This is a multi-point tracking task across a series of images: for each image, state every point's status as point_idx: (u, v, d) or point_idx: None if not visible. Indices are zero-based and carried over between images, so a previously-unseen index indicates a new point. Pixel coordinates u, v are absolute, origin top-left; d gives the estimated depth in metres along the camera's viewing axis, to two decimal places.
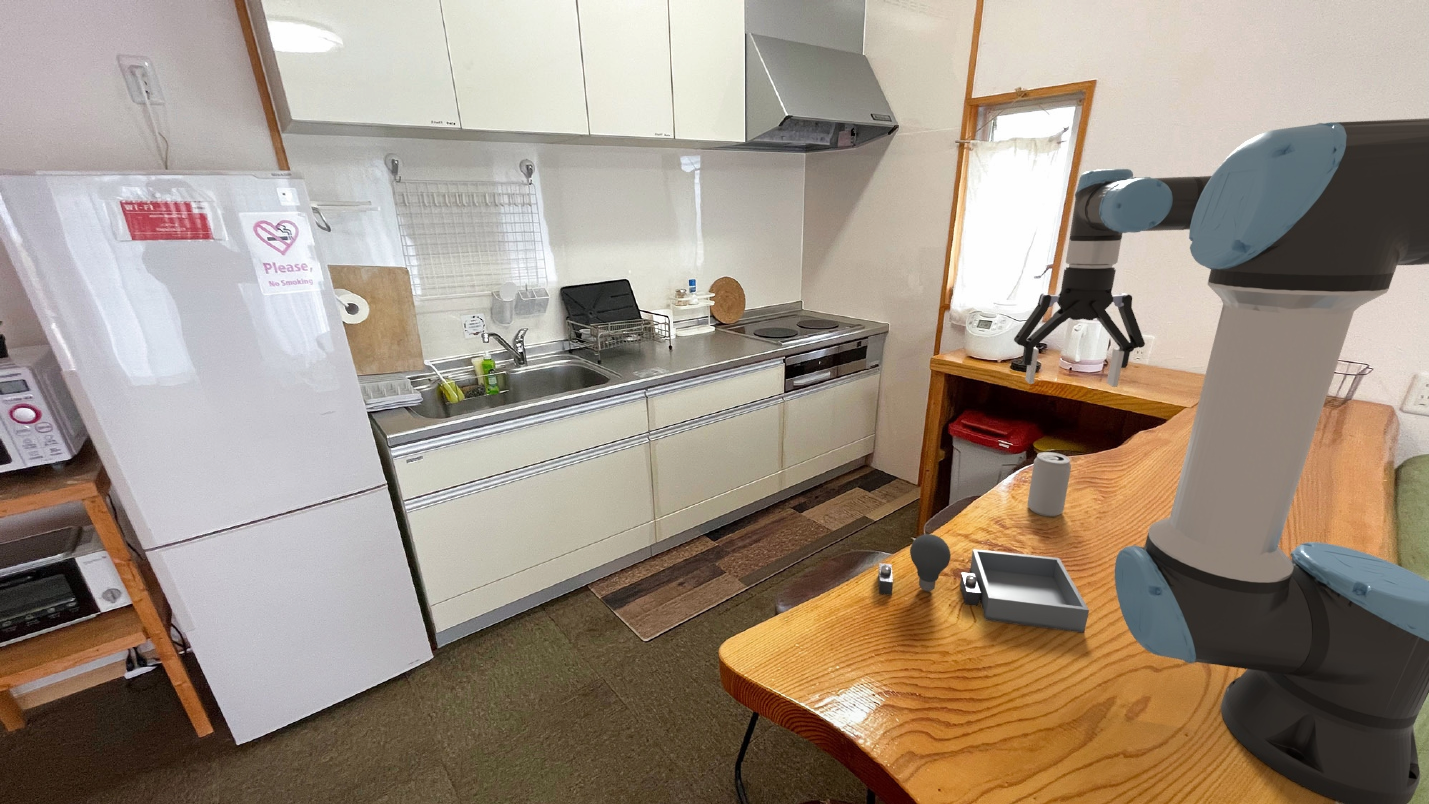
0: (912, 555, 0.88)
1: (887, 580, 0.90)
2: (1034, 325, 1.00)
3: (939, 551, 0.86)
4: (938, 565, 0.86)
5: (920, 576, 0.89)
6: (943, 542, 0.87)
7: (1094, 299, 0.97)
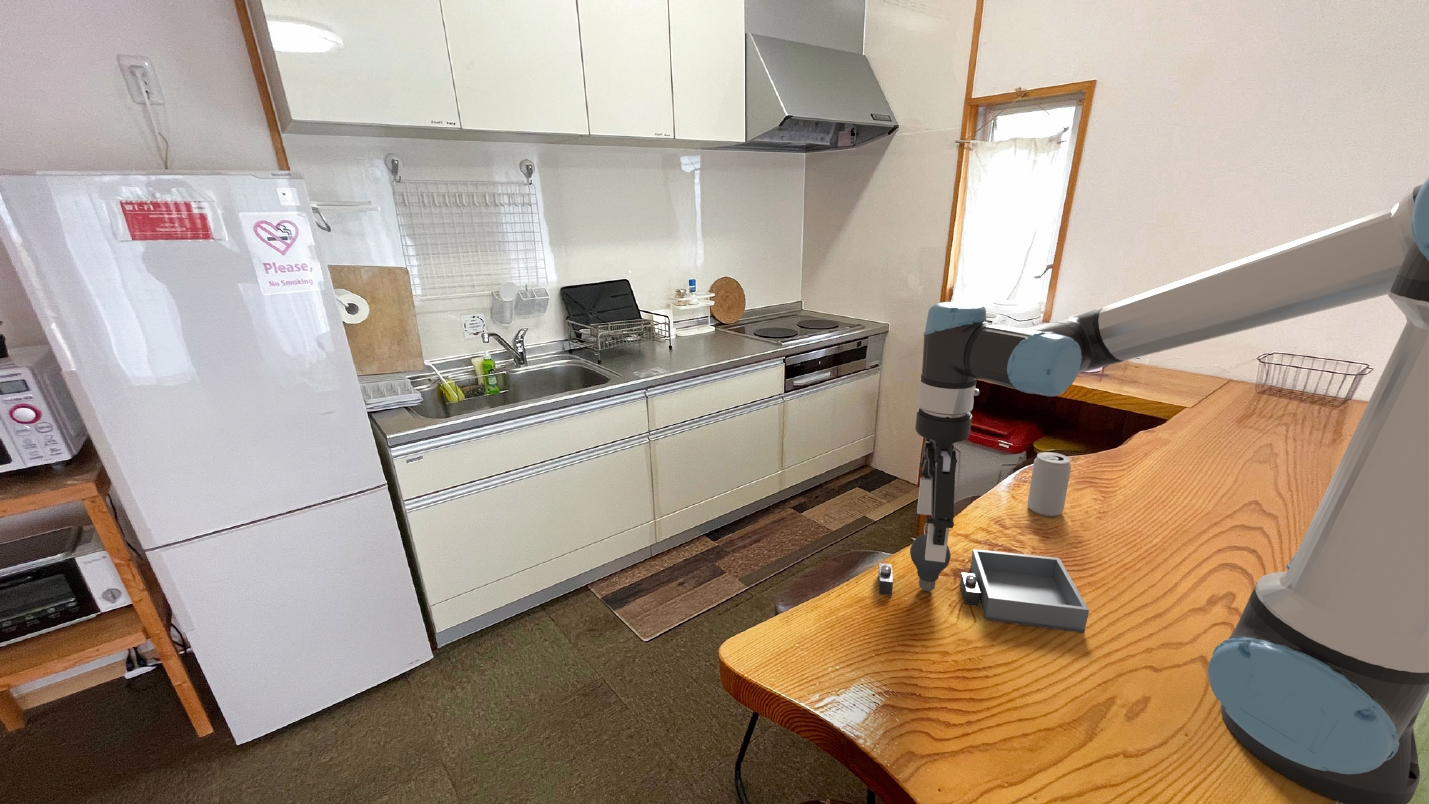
0: (912, 555, 0.88)
1: (887, 580, 0.90)
2: (923, 452, 0.92)
3: None
4: (938, 565, 0.86)
5: (920, 576, 0.89)
6: None
7: (933, 447, 0.82)
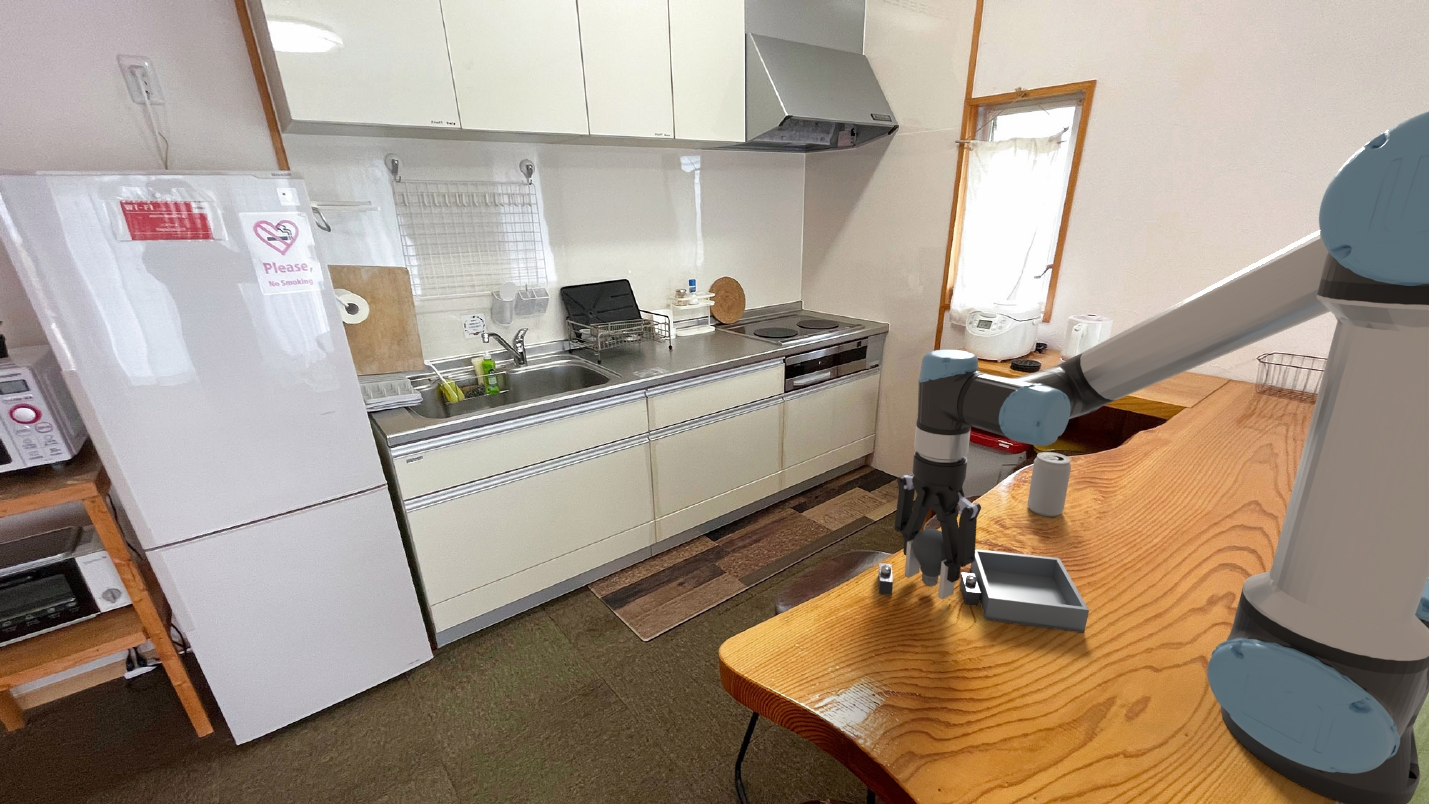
0: (925, 556, 0.86)
1: (887, 580, 0.90)
2: (900, 510, 0.91)
3: None
4: None
5: (930, 574, 0.88)
6: None
7: (940, 492, 0.83)
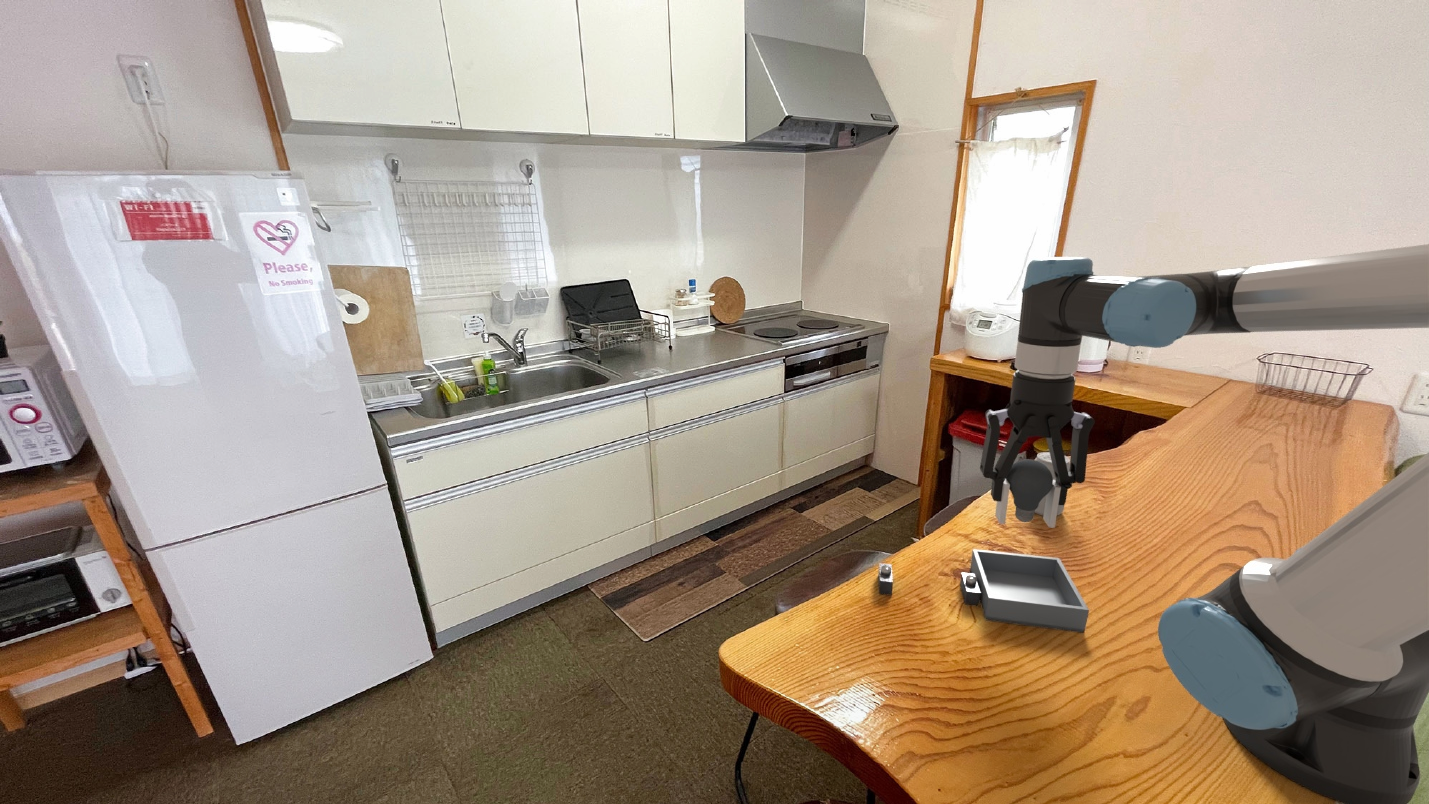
0: (1042, 488, 0.79)
1: (887, 580, 0.90)
2: (994, 452, 0.81)
3: None
4: None
5: (1035, 507, 0.82)
6: None
7: (1053, 413, 0.77)
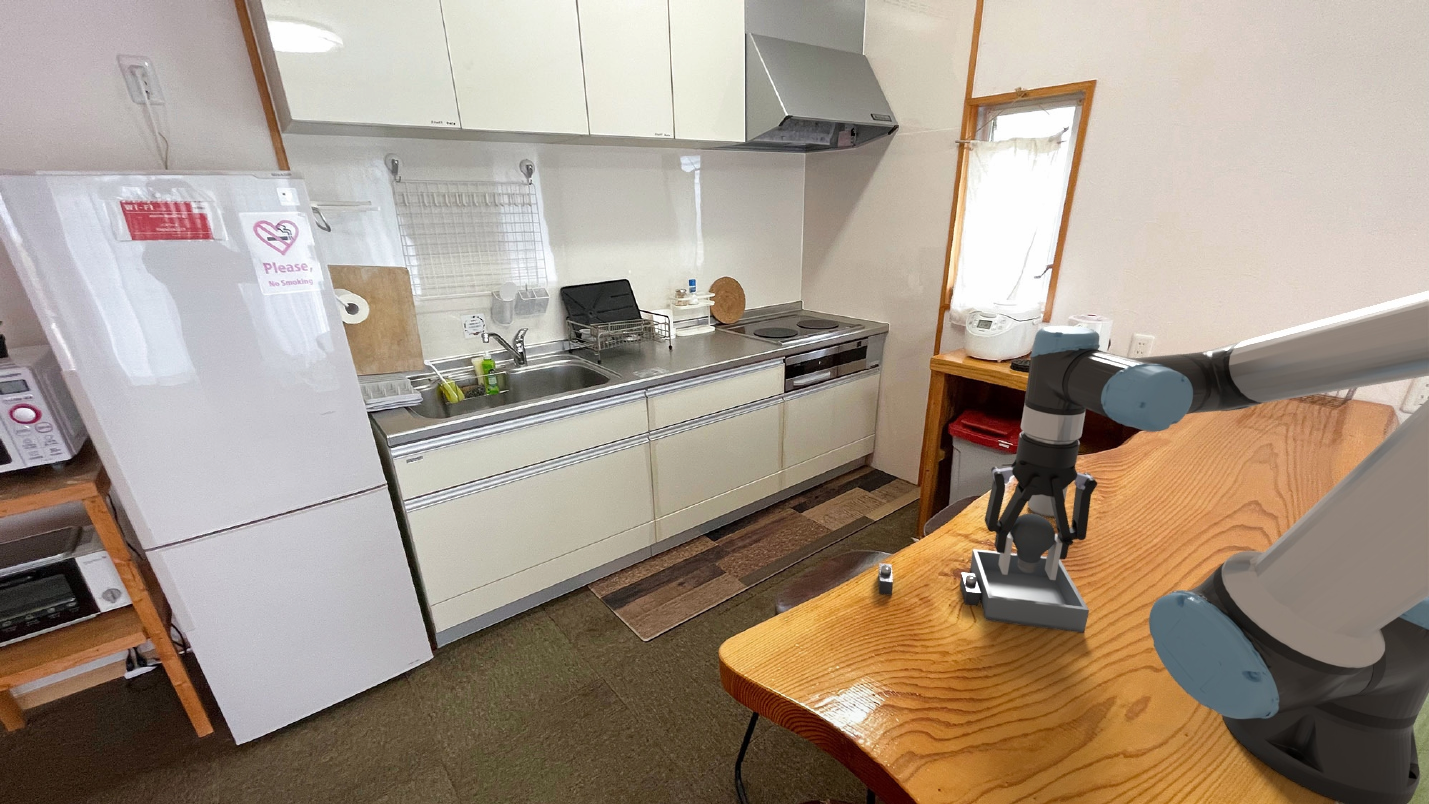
0: (1045, 544, 0.82)
1: (887, 580, 0.90)
2: (998, 507, 0.84)
3: None
4: None
5: (1037, 560, 0.85)
6: None
7: (1057, 474, 0.80)
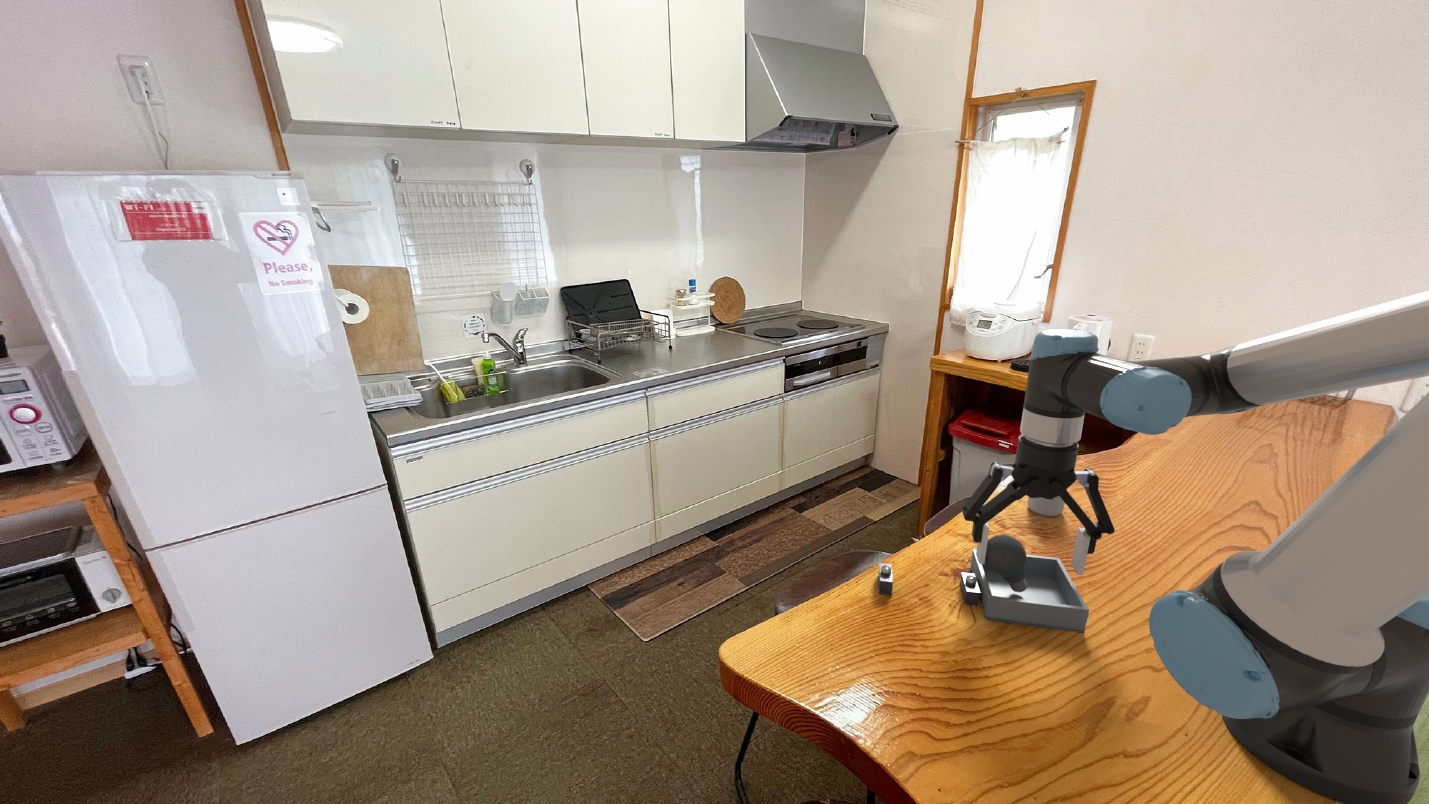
0: (1015, 562, 0.84)
1: (887, 580, 0.90)
2: (983, 500, 0.84)
3: (1012, 537, 0.87)
4: None
5: (1022, 577, 0.86)
6: None
7: (1054, 477, 0.80)
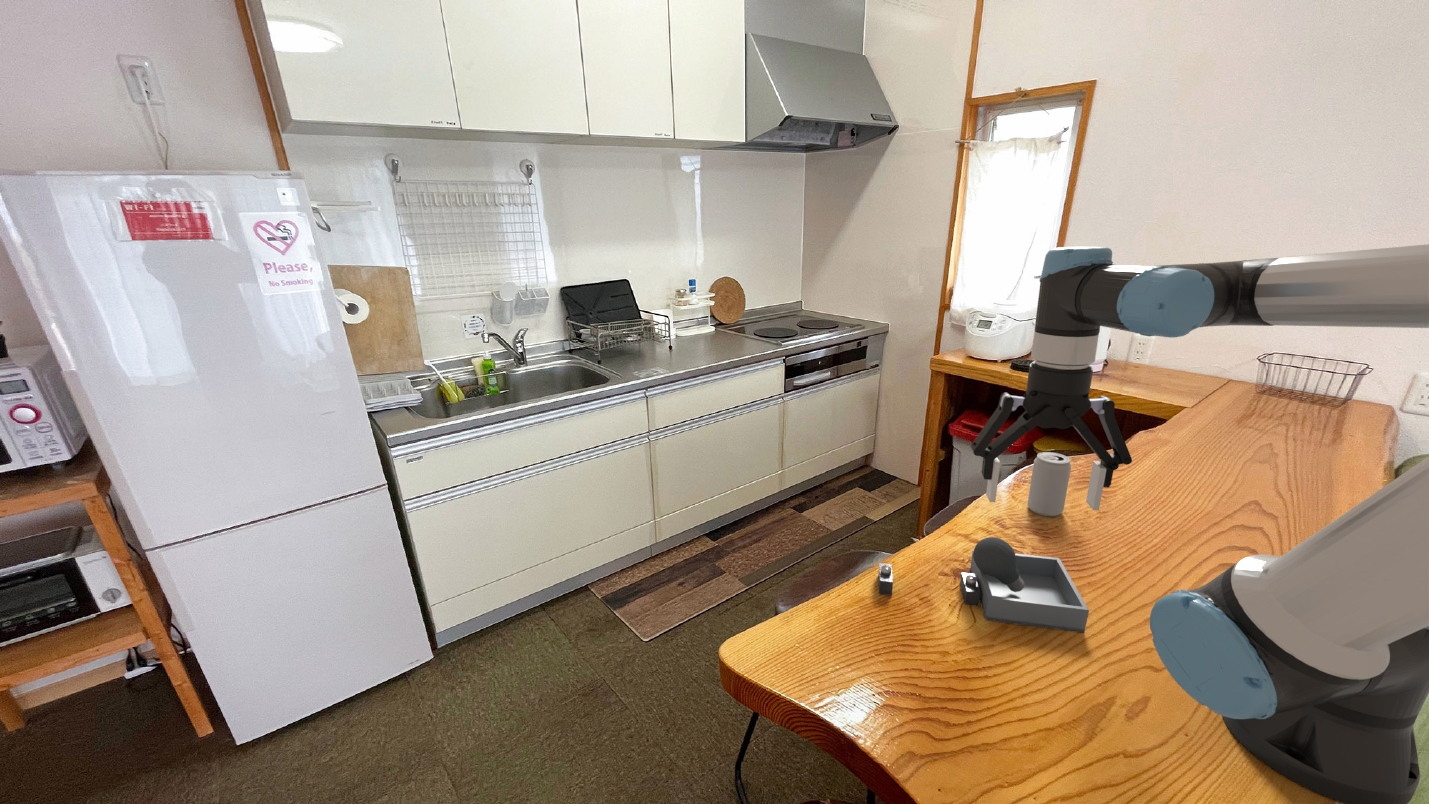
0: (1004, 563, 0.85)
1: (887, 580, 0.90)
2: (994, 433, 0.80)
3: (998, 538, 0.88)
4: None
5: (1016, 576, 0.86)
6: None
7: (1067, 404, 0.77)
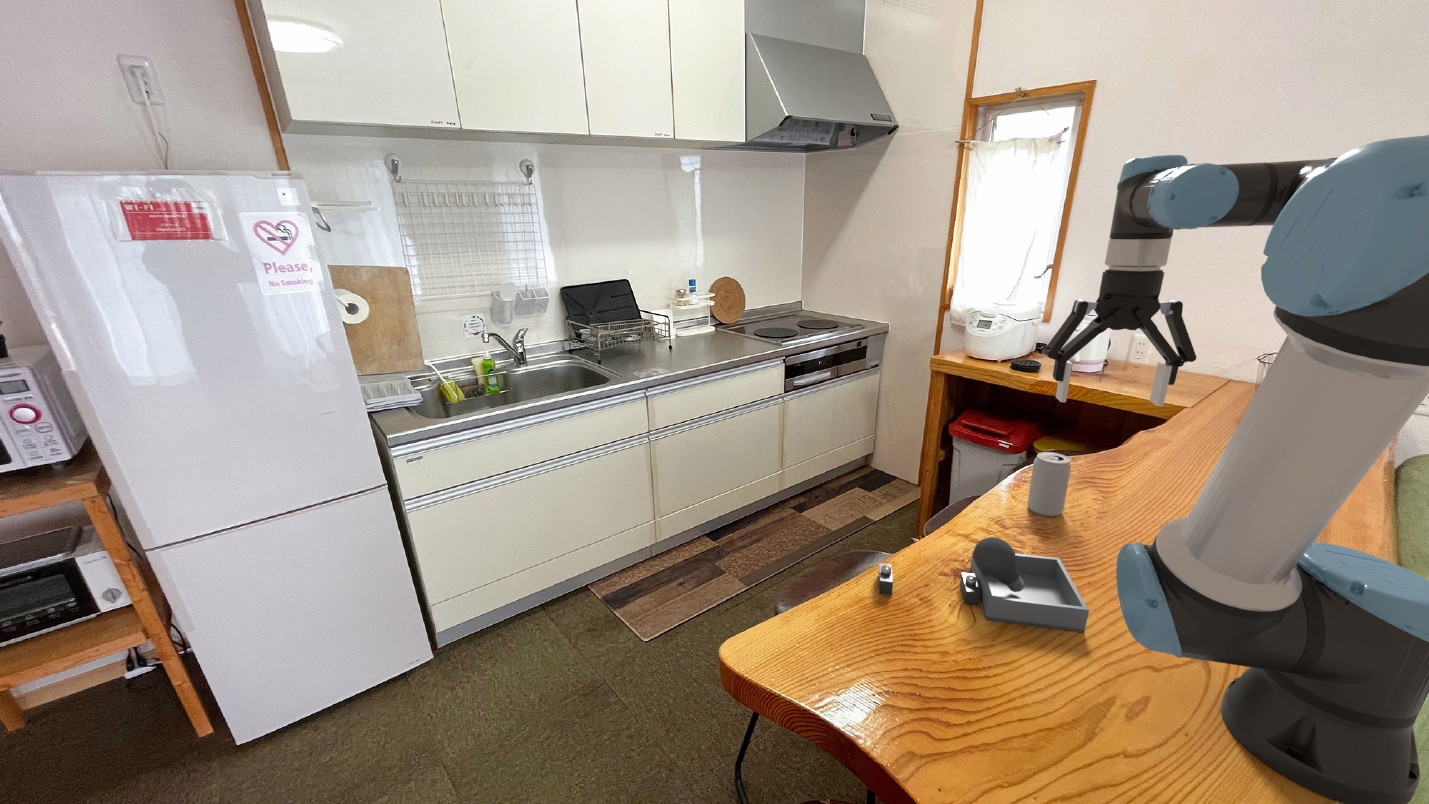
0: (1004, 563, 0.85)
1: (887, 580, 0.90)
2: (1068, 336, 0.88)
3: (998, 538, 0.88)
4: None
5: (1016, 576, 0.86)
6: None
7: (1138, 306, 0.84)
